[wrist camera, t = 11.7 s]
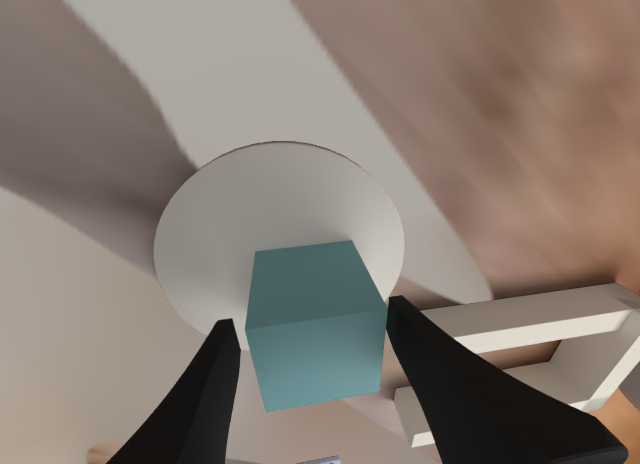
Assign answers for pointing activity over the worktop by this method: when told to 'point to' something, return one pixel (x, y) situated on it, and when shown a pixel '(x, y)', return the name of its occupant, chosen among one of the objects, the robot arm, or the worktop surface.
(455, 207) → the worktop surface
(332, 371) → the cube
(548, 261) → the worktop surface
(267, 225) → the dish
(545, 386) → the frame
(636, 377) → the teacup
